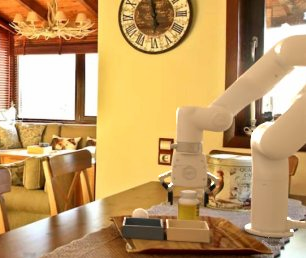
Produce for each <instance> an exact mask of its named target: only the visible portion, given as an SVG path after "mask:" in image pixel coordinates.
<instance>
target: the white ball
mask: <svg viewBox="0 0 306 258" xmlns="http://www.w3.org/2000/svg"><path fill="white" fill-rule="evenodd" d="M131 217H134V218H150V217H149V213H148V211H147V210H145V209H144V208H141V207H140V208H136V209H134V211H133V212H132V214H131Z"/></svg>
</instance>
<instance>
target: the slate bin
mask: <svg viewBox="0 0 306 258" xmlns="http://www.w3.org/2000/svg"><path fill="white" fill-rule="evenodd" d="M123 217H124V218H123V221H122V222H123V223H122V239H123V238H124V239H140V240H156V241H158V240H159V241H164V219H163V218H153V217H152V218H151V217H149V218H134V217H132V216H131V217H130V216H123Z"/></svg>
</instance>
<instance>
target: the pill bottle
mask: <svg viewBox="0 0 306 258" xmlns="http://www.w3.org/2000/svg"><path fill="white" fill-rule="evenodd" d="M179 195H180V198H179V199H178V200H177V220H195V221H200V200H199V199H198V198H197V197H198V192H197V191H196V190H192V189H191V190H190V189H184V190H180V193H179Z"/></svg>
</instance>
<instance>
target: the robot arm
mask: <svg viewBox="0 0 306 258" xmlns="http://www.w3.org/2000/svg"><path fill="white" fill-rule="evenodd" d="M299 67H300V68H301V67H306V34H295V35H290V36H287V37H285V38H282V39H280V40H279V41H277V42H276V43H275V44H274V45H273V46H272V47H271V48H270V49H269V50H268V51H267V52H265V53H264V54H263V55H262V56H261V57H260V58H259V59H257V61H256V62H254V64H252V65H251V66H250V67H249V68H248V69H247V70H246V71H244V73H242V74H241V75H240V76H239V77H238V78H237V79H236V80H235V81H234V82H233V83H232V84H231V85H230V86H228V87H227V88H226V89H225V90H224V91H223V92H222V93H221V94H219V96H218V97H217V98H215V100H213V101H212V102H211V103H210V104H209V105H208V106H206V107H202V106H195V105H185V106H184V105H183V106H179V107H178V108H177V110H176V124H175V125H176V129H175V142H174V143H170V149H173V150H175V151H173V153H172V157H171V164H170V165H171V166H170V170H169V171H167V172H165V173H162V174H160V175H158V181H159V183H160V184H161V186H162V188H164V189H165V191H167V203H169V205H170V206H174V189H175V188H176V187H179V188H180V187H181V188H201V189H202V190H203V192H202V206H203V207H204V208H207V205H209V204H210V194H211V193H212V192H213V191H214V190H215V189H216V188H217V186H218V185H219V183H220V180H221V179H220V178H219V177H217V176H215V175H213V174H212V173H210V172H208V162H207V161H208V160H207V155H206V153H205V152H203V151H204V149H203V148H204V131H206V132H214V133H222V132H226V131H227V130H229V129H230V128H231V126H232V125H233V122H234V117H235V116H236V115H238V114H239V113H240V112H241V111H242V110H243V109H245V108H246V107H247V106H249V105H250V104H251V103H254V102H256V101H259V100H260V99H261V98H263V97H265V96H267V95H268V94H269V93H270V92H271V91H272V90H273V89H274V88H276V87H277V86H278V84H280V83H281V82H282V81H283V80H284V79H285V78H286V77H287V76H289V75H290V74H291V73H293V71H294V70H295V69H296V68H299ZM305 145H306V83H305V84H304V85H303V86H302V87H301V88H299V89H298V91H297V92H295V93H293V95H292V96H291V97H290V98H289V99H287V100H286V102H284V104H283V106H282V108H281V115H279V116H278V117H277V118H276V119H275V120H274V121H273V122H272V121H271V122H264V123H261V124H259V125H258V126H257V127H256V128H255V129H254V130H253V132H252V133H251V138H250V152H251V184H250V185H251V190H250V191H251V192H250V223H247V224H245V226H244V231H245V232H247V233H248V234H251V235H254V236H258V237H265V238H274V239H277V238H278V239H281V238H289V237H292V236H294V229H306V221H300V220H299V219H297V220H296V219H291V218H290V217H289V184H290V183H289V182H290V181H289V179H290V163H289V162H290V160H289V158H291V157H292V156H293V155H294V154H295V153H297V152H298V151H299V150H300V149H301V148H302V147H303V146H305ZM169 177H170V184H168V183H167V182H166V181H165V180H166V178H169ZM208 179H209V180H211V181H212V183H211V184H210V185H209V186H207V185H208Z"/></svg>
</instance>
